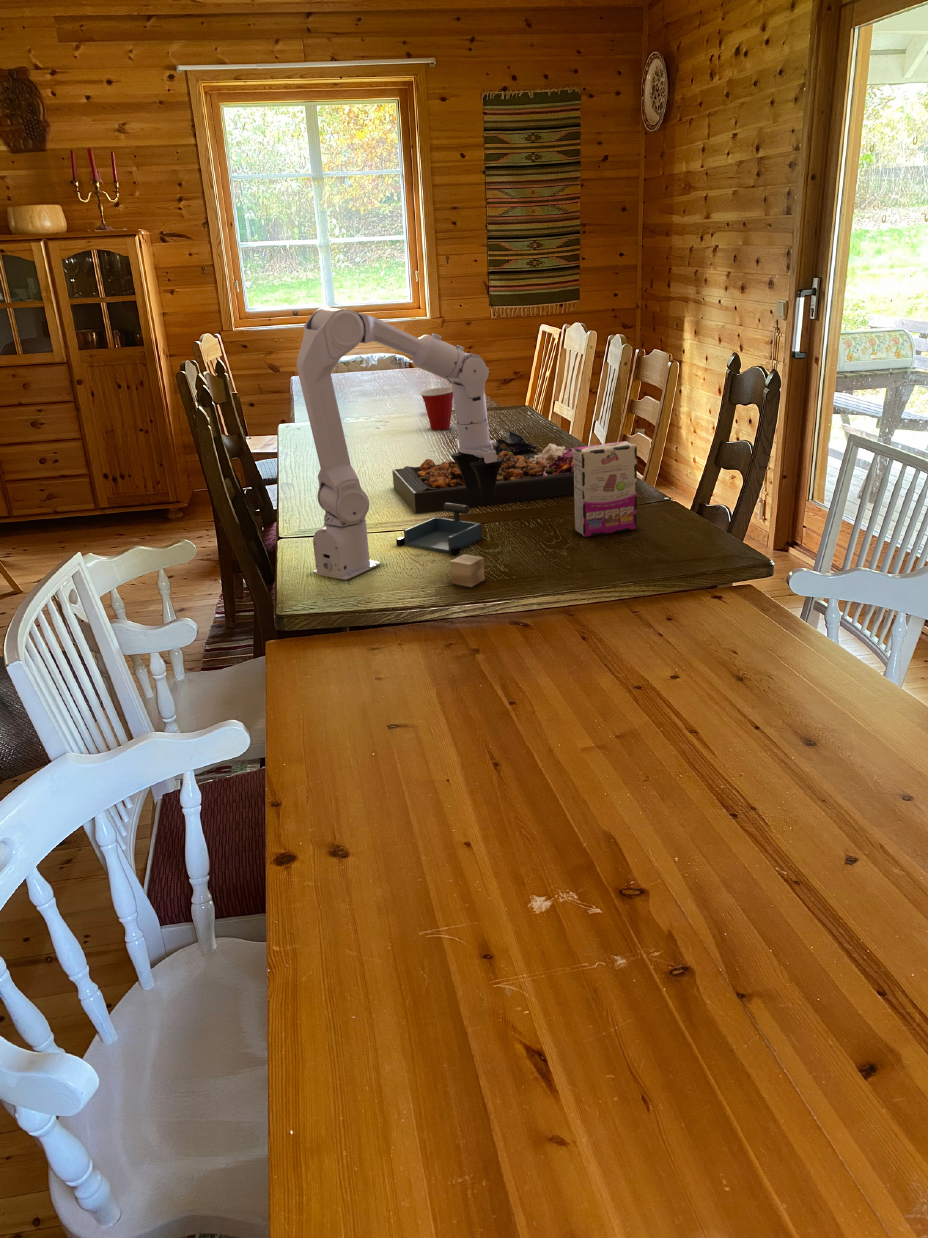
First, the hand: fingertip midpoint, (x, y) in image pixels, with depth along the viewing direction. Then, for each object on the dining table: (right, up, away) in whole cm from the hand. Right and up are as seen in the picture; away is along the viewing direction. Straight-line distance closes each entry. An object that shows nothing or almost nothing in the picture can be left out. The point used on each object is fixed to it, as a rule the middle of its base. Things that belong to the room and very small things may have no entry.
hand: (480, 493), depth 171 cm
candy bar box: (+24, -7, +6) cm, 26 cm away
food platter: (+5, +6, +40) cm, 41 cm away
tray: (-7, -9, +4) cm, 12 cm away
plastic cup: (-11, +36, +114) cm, 120 cm away
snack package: (+11, +21, +76) cm, 80 cm away
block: (-2, -17, -17) cm, 25 cm away
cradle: (-10, -11, 0) cm, 14 cm away
